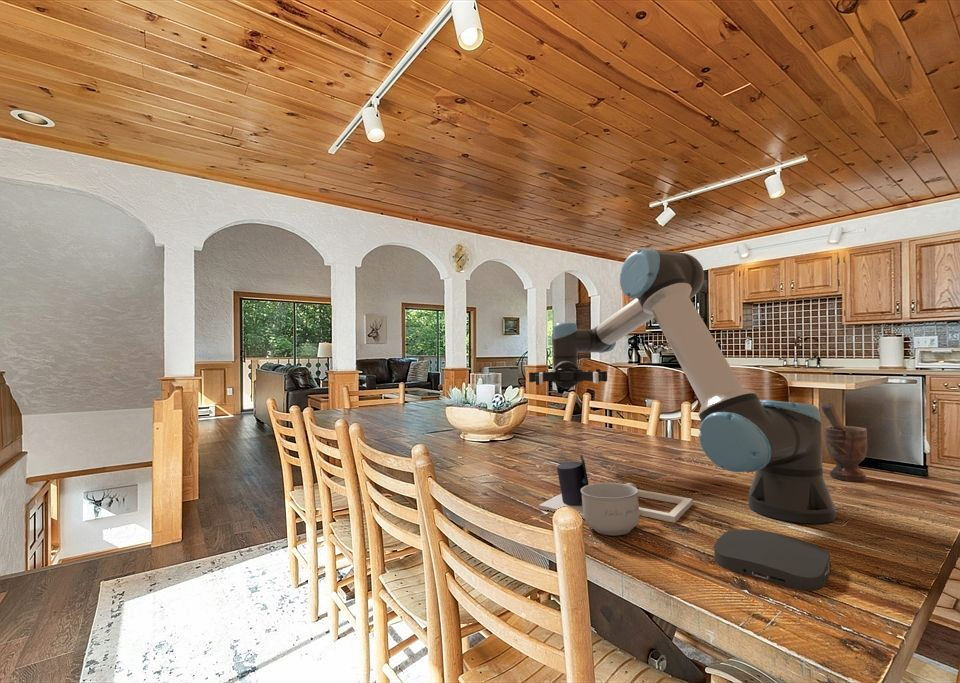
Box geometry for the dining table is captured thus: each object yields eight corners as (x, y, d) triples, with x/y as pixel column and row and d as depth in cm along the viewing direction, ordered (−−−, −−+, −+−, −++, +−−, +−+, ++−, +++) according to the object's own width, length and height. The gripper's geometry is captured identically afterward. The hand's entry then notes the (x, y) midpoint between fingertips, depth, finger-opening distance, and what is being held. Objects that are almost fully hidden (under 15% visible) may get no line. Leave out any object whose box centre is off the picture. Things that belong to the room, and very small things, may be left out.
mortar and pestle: (864, 487, 109) (860, 405, 109) (820, 480, 115) (816, 402, 116) (871, 478, 117) (868, 401, 117) (830, 472, 123) (827, 399, 124)
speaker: (599, 499, 101) (592, 453, 102) (592, 509, 96) (586, 460, 97) (566, 498, 105) (560, 454, 105) (559, 507, 100) (552, 461, 100)
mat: (606, 504, 101) (606, 501, 101) (584, 519, 93) (584, 515, 93) (563, 495, 108) (563, 492, 108) (538, 508, 100) (538, 505, 100)
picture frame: (692, 504, 100) (692, 498, 100) (674, 522, 90) (674, 516, 90) (633, 493, 109) (632, 488, 109) (610, 509, 98) (609, 503, 98)
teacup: (609, 546, 80) (608, 500, 80) (570, 526, 89) (569, 485, 90) (664, 530, 86) (662, 488, 86) (622, 513, 96) (621, 475, 96)
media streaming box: (733, 538, 83) (733, 521, 83) (834, 562, 73) (833, 543, 73) (707, 566, 72) (707, 547, 72) (820, 599, 62) (820, 577, 62)
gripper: (610, 386, 130) (621, 393, 109) (524, 387, 134) (518, 394, 113) (609, 360, 130) (620, 362, 109) (523, 362, 134) (517, 364, 113)
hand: (568, 378), depth 111 cm, fingers open, 13 cm apart
